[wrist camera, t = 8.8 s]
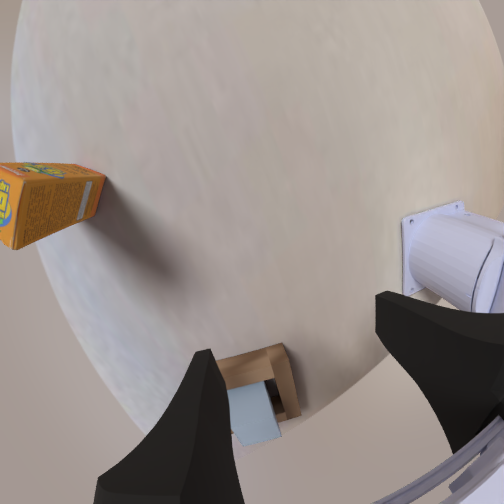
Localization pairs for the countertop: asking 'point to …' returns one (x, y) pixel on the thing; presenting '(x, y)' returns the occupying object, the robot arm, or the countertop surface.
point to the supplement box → (44, 199)
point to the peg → (252, 414)
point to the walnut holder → (264, 377)
